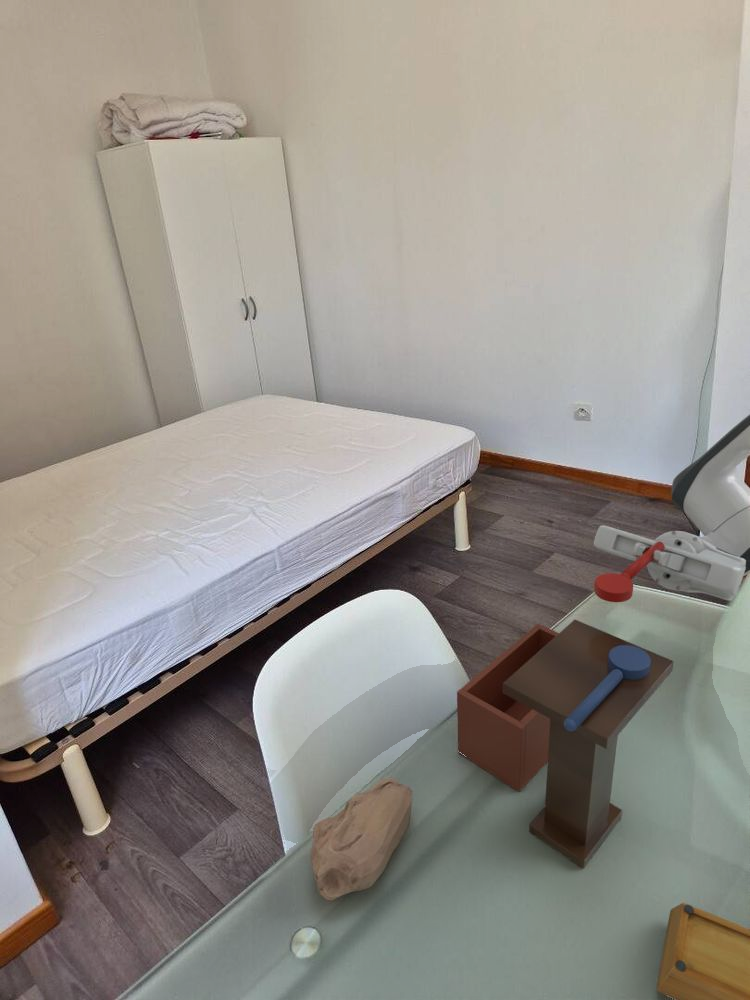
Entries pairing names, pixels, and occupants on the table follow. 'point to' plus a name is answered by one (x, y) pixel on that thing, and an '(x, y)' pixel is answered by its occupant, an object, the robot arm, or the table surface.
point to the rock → (360, 839)
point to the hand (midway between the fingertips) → (648, 554)
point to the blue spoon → (612, 680)
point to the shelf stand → (580, 734)
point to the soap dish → (704, 957)
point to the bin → (504, 717)
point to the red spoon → (623, 578)
